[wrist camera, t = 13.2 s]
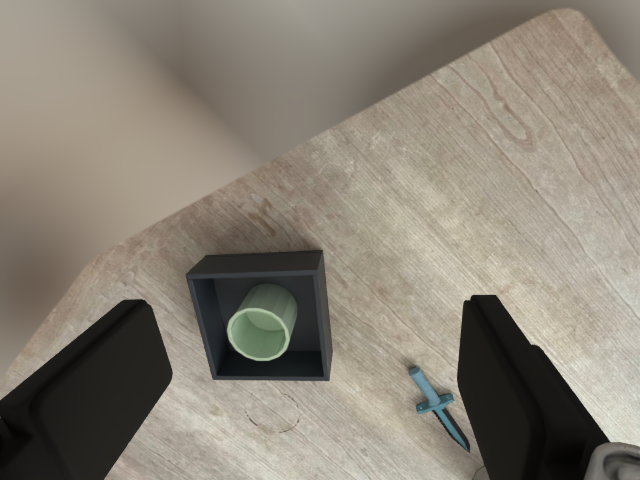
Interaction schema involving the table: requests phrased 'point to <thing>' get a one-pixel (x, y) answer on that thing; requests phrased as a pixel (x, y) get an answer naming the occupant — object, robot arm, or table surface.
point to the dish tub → (227, 293)
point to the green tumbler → (263, 322)
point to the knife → (438, 408)
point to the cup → (481, 474)
